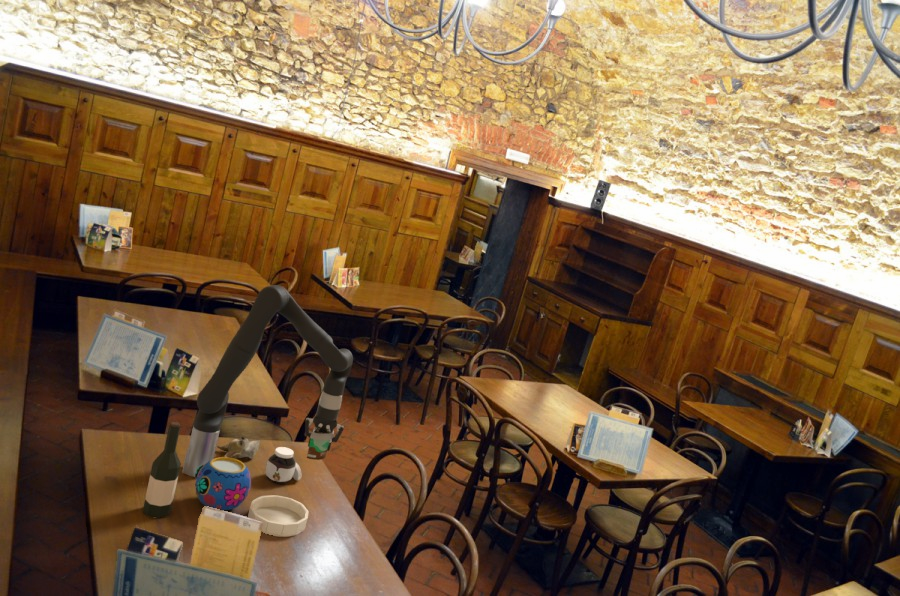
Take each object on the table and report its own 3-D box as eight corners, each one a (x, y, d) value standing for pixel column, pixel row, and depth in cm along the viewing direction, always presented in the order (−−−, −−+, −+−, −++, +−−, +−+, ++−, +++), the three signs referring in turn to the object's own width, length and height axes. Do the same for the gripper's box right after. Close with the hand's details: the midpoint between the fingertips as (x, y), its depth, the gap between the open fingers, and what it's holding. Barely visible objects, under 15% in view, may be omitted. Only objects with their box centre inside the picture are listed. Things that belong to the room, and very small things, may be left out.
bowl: (243, 530, 232) (246, 517, 232) (253, 502, 251) (255, 491, 250) (302, 541, 235) (305, 529, 234) (307, 513, 254) (310, 501, 253)
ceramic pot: (188, 491, 247) (197, 450, 245) (241, 494, 255) (250, 454, 252) (192, 518, 231) (202, 475, 229) (248, 520, 239) (258, 478, 237)
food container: (321, 464, 250) (327, 437, 249) (305, 459, 251) (311, 432, 250) (333, 453, 262) (340, 427, 261) (318, 448, 263) (324, 422, 262)
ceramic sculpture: (264, 442, 280) (224, 443, 273) (260, 463, 282) (221, 464, 274) (257, 431, 289) (218, 431, 282) (253, 451, 291) (215, 452, 283)
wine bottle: (176, 511, 233) (195, 424, 228) (158, 521, 225) (177, 431, 220) (155, 502, 235) (173, 415, 230) (136, 511, 227) (155, 421, 222)
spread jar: (260, 477, 271) (267, 448, 269) (278, 469, 281) (285, 441, 279) (287, 489, 267) (294, 460, 265) (304, 480, 277) (311, 452, 276)
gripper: (308, 403, 249) (296, 449, 252) (349, 412, 251) (337, 458, 254) (310, 396, 257) (299, 441, 259) (350, 405, 259) (338, 449, 261)
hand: (318, 449), depth 257 cm, fingers closed on food container, 5 cm apart
